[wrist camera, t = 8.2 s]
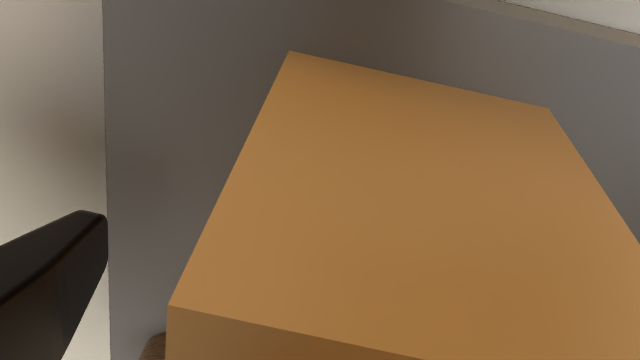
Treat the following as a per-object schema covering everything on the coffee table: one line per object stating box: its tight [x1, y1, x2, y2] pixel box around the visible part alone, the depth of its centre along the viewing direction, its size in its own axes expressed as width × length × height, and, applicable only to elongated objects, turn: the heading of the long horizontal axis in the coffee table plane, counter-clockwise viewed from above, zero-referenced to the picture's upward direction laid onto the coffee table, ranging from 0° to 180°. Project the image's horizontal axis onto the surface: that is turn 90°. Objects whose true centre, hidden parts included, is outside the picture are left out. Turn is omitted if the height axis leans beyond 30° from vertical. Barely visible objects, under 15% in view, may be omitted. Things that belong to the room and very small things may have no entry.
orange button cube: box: [165, 50, 640, 360], centre depth 8 cm, size 5×5×8 cm
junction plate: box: [102, 0, 640, 360], centre depth 13 cm, size 14×12×1 cm
